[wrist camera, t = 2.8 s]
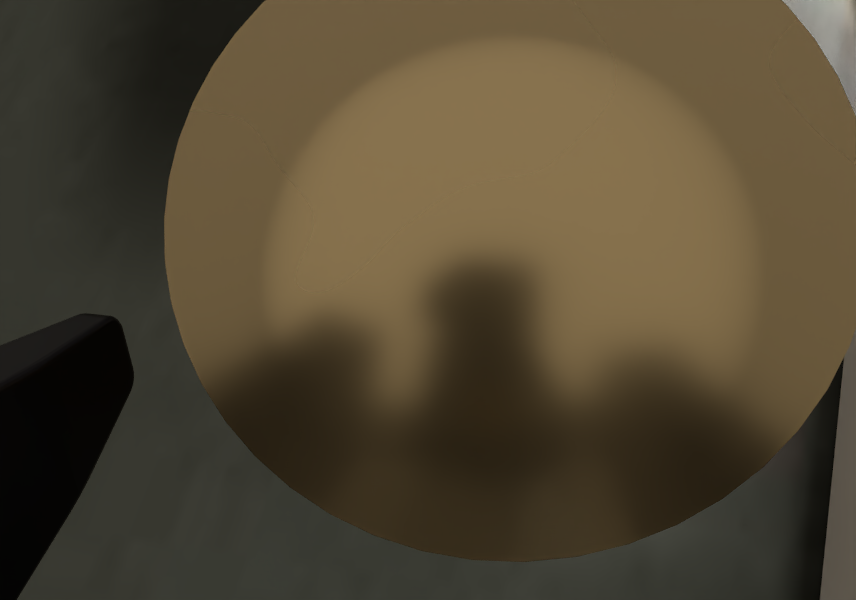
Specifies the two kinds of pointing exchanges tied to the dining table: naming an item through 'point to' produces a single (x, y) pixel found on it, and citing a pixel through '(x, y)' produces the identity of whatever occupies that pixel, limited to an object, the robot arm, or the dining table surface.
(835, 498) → the socket block
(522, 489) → the brass tube
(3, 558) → the robot arm
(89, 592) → the dining table surface
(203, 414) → the dining table surface
